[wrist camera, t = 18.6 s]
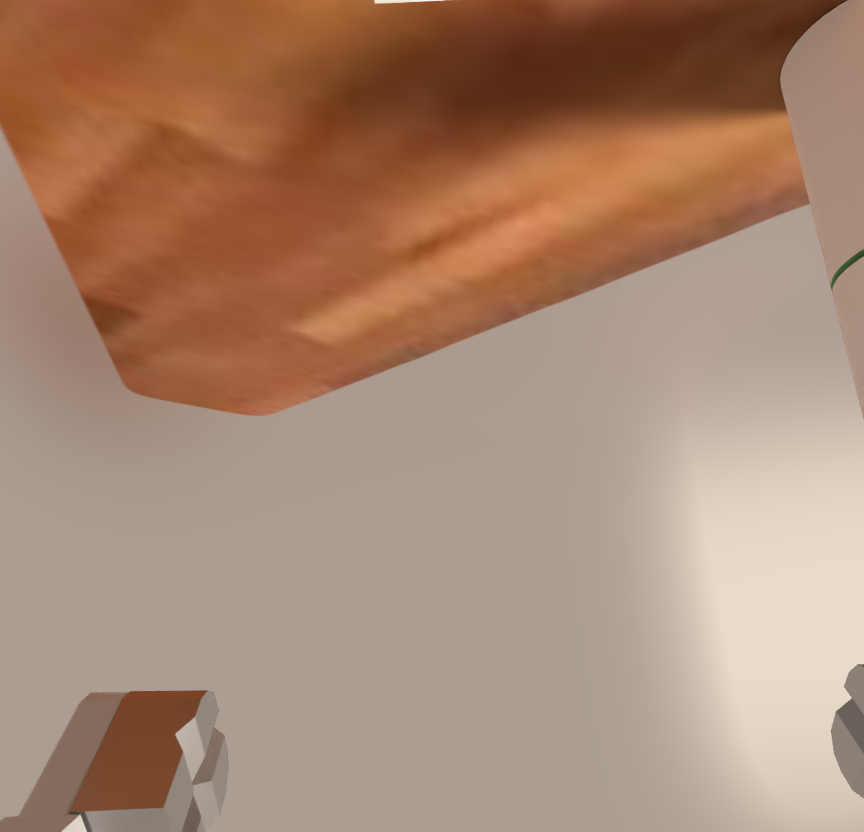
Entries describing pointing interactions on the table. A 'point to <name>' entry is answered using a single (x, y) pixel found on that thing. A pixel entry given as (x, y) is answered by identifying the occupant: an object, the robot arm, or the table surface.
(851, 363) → the cylindrical container
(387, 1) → the block
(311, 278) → the table surface
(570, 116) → the table surface
